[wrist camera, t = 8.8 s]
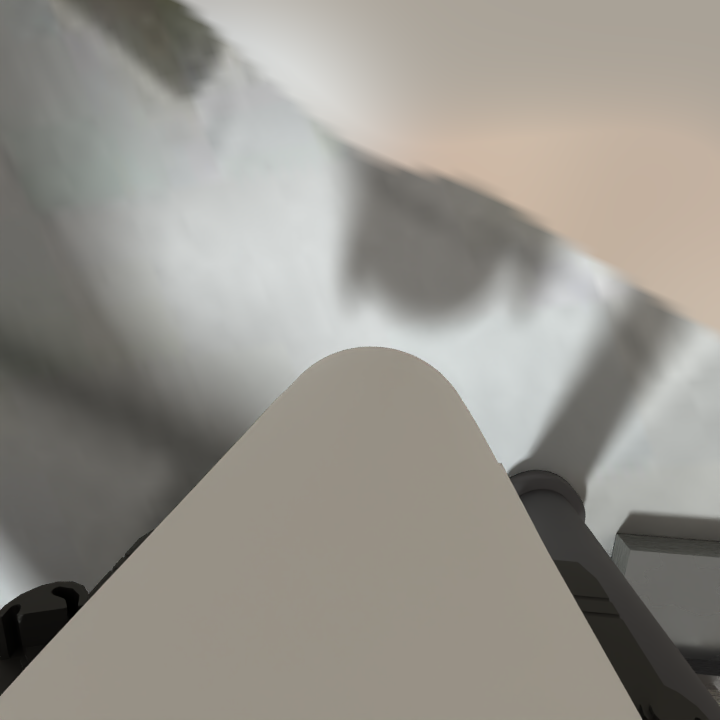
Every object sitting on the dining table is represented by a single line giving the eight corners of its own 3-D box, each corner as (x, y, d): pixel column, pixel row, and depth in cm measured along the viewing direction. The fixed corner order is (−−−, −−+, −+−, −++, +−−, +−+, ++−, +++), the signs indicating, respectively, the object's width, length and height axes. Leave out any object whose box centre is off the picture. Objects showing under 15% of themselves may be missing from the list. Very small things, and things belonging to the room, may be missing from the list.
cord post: (487, 541, 21) (630, 957, 8) (497, 467, 20) (673, 811, 7) (570, 548, 21) (843, 986, 8) (584, 473, 20) (915, 840, 7)
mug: (313, 301, 13) (-541, 750, 1) (517, 387, 13) (1697, 1624, 1) (215, 559, 15) (-371, 1539, 4) (386, 629, 15) (361, 1799, 4)
